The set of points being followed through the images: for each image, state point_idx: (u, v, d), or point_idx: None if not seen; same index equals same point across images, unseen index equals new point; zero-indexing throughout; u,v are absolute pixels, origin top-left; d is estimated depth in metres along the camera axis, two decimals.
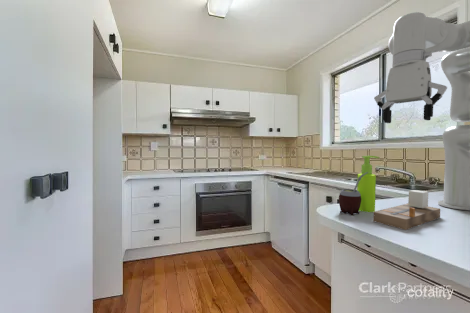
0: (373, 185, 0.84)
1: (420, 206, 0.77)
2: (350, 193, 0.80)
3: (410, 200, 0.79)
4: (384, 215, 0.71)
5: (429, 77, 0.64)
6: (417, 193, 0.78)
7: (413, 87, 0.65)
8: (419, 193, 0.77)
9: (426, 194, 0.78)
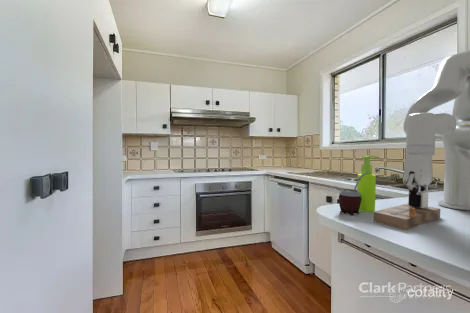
0: (373, 185, 0.84)
1: None
2: (350, 193, 0.80)
3: None
4: (384, 215, 0.71)
5: None
6: None
7: (430, 175, 0.78)
8: None
9: (426, 194, 0.78)
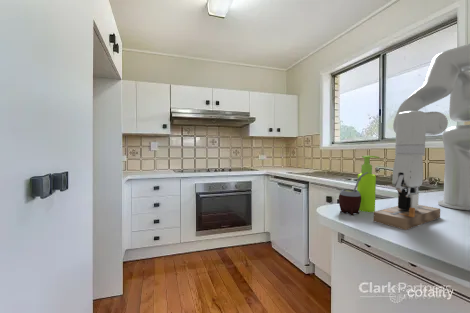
0: (373, 185, 0.84)
1: None
2: (350, 193, 0.80)
3: None
4: (384, 215, 0.71)
5: None
6: None
7: (420, 177, 0.74)
8: None
9: (416, 196, 0.74)
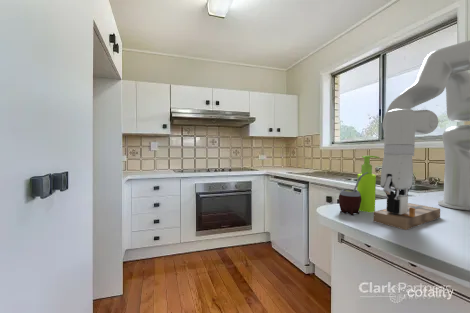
0: (373, 185, 0.84)
1: (399, 212, 0.70)
2: (350, 193, 0.80)
3: None
4: (384, 215, 0.71)
5: None
6: None
7: (410, 178, 0.71)
8: (398, 198, 0.70)
9: (405, 198, 0.70)
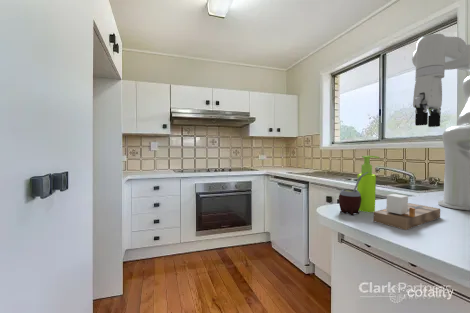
0: (373, 185, 0.84)
1: (398, 212, 0.70)
2: (350, 193, 0.80)
3: (388, 206, 0.72)
4: (384, 215, 0.71)
5: None
6: (395, 198, 0.70)
7: (440, 98, 0.79)
8: (398, 198, 0.70)
9: (405, 198, 0.70)
